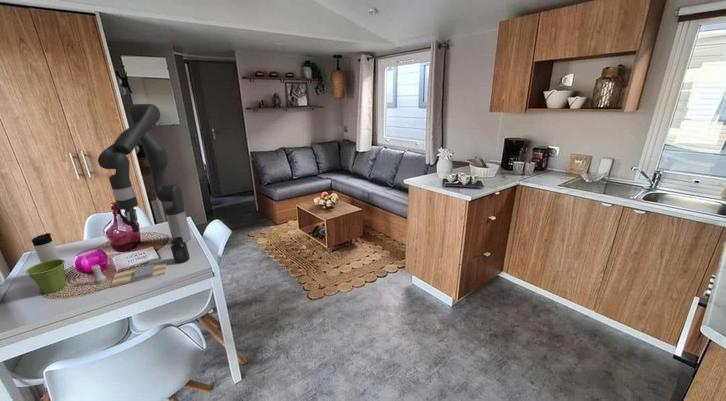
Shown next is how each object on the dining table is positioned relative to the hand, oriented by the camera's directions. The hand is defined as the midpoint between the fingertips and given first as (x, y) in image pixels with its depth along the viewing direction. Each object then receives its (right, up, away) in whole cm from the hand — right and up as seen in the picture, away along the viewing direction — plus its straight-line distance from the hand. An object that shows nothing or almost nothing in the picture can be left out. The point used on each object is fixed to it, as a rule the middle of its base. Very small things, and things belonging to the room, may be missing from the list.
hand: (136, 231), depth 139 cm
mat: (+2, -20, -1) cm, 20 cm away
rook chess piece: (-12, -22, -5) cm, 26 cm away
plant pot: (-28, -24, -9) cm, 38 cm away
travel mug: (-39, -20, +2) cm, 44 cm away
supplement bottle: (+15, -16, +11) cm, 24 cm away
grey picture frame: (+5, -19, -1) cm, 19 cm away
